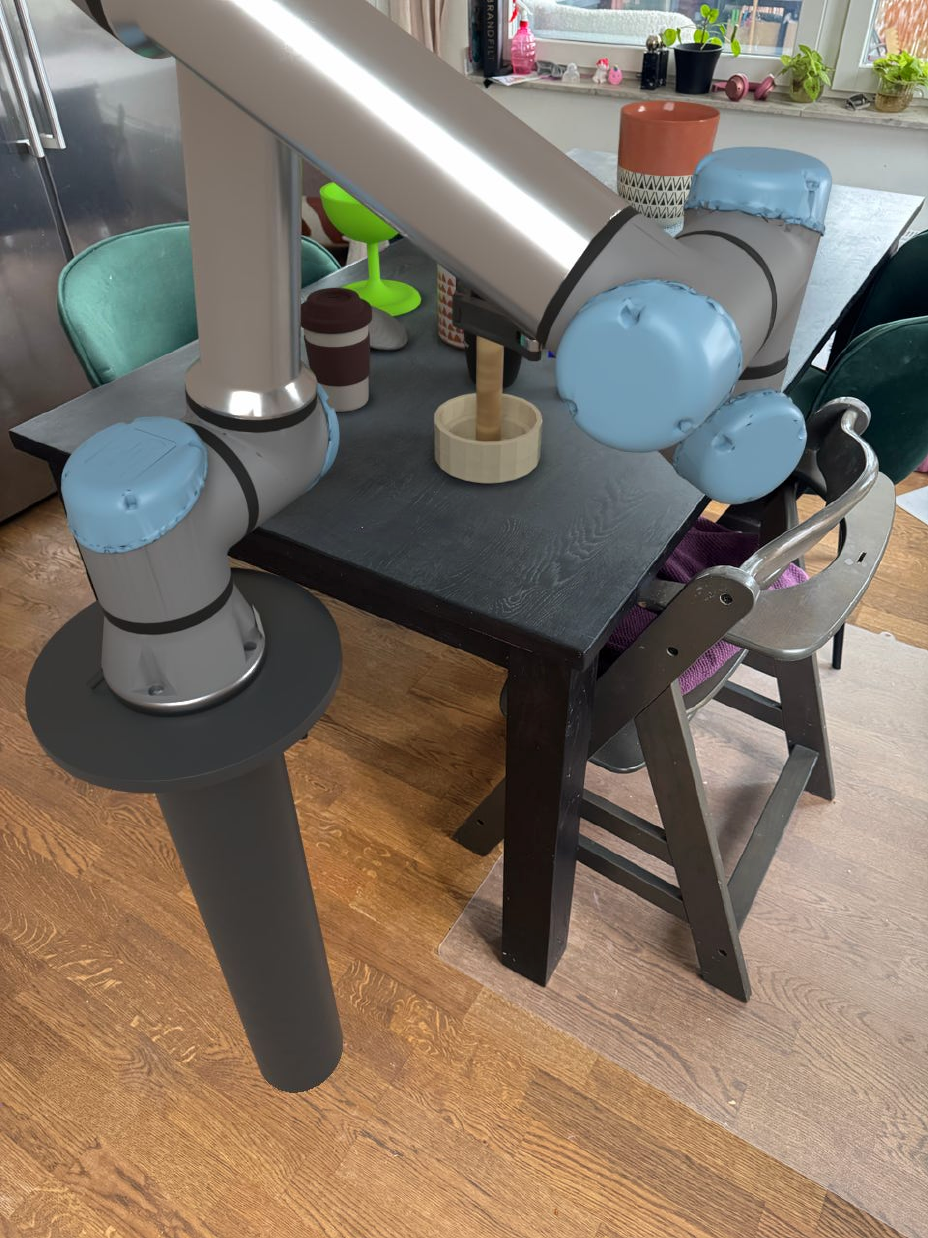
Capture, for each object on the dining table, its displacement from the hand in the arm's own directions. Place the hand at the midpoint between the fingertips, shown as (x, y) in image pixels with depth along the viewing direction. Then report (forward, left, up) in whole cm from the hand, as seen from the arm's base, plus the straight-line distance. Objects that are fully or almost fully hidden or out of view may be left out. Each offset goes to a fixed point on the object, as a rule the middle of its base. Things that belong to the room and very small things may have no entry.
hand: (529, 265), depth 78 cm
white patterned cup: (+32, +46, -30) cm, 63 cm away
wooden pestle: (+8, +15, -29) cm, 34 cm away
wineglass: (+27, +69, -30) cm, 80 cm away
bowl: (+8, +15, -30) cm, 34 cm away
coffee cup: (+2, +40, -30) cm, 50 cm away
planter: (+98, +68, -30) cm, 123 cm away
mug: (+22, +31, -30) cm, 48 cm away
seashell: (+17, +54, -30) cm, 64 cm away
